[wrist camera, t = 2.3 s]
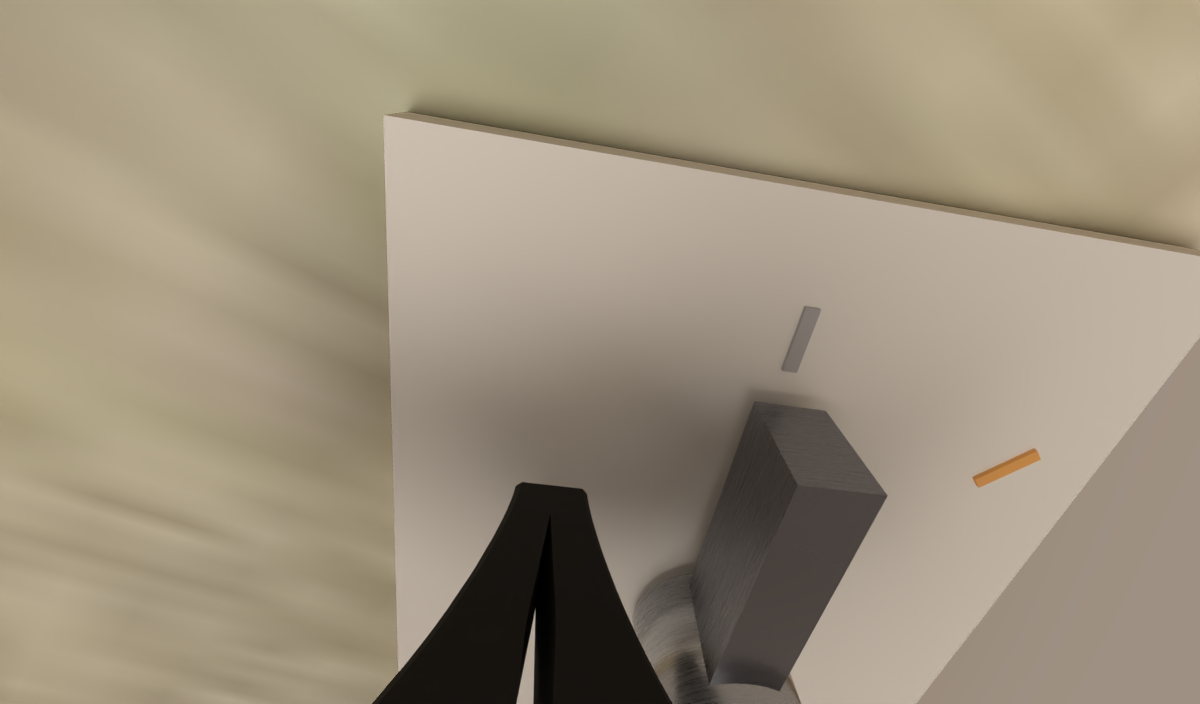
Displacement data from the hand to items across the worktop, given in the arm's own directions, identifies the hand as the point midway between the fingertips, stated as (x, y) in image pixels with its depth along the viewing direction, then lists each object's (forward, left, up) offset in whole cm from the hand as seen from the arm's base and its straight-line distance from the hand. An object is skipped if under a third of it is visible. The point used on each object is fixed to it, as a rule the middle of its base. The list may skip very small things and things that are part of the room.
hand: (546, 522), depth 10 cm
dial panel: (-2, -4, -3) cm, 5 cm away
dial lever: (-1, -5, -1) cm, 5 cm away
